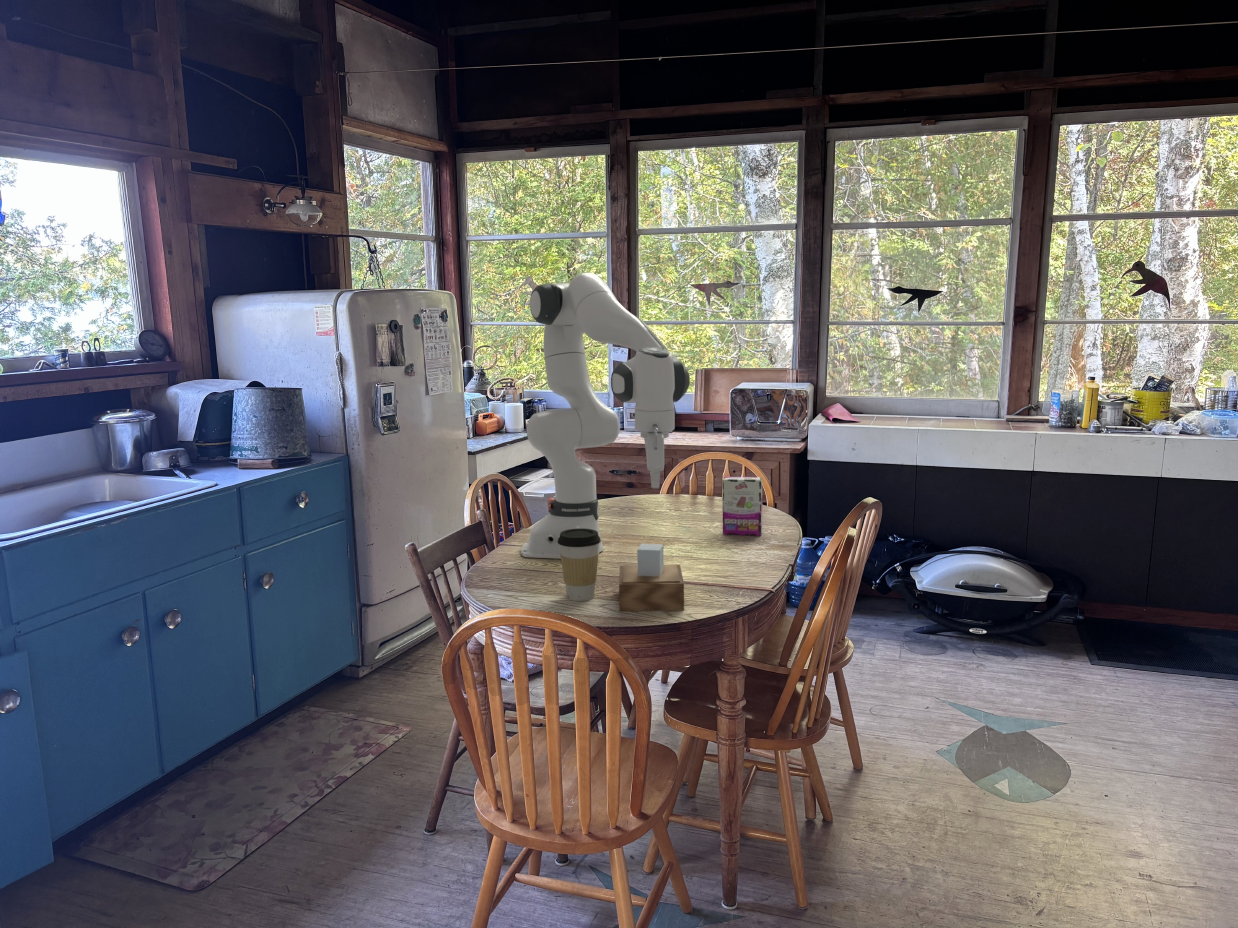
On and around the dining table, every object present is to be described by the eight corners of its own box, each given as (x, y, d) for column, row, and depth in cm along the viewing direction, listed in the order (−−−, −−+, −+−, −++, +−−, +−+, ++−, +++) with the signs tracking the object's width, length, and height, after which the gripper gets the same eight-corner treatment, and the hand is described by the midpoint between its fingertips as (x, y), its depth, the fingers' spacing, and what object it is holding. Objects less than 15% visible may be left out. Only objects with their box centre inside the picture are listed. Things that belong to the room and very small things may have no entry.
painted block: (637, 575, 191) (637, 549, 190) (641, 569, 195) (641, 543, 194) (659, 576, 190) (659, 550, 189) (663, 570, 194) (663, 544, 193)
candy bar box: (762, 531, 250) (763, 476, 247) (761, 536, 246) (761, 480, 243) (724, 530, 253) (724, 475, 250) (722, 534, 248) (722, 479, 245)
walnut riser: (619, 610, 187) (619, 583, 186) (620, 590, 201) (619, 564, 199) (684, 609, 187) (683, 582, 185) (680, 589, 200) (680, 563, 199)
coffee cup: (601, 589, 202) (600, 527, 199) (602, 603, 192) (600, 538, 189) (559, 590, 201) (557, 528, 199) (558, 604, 192) (556, 539, 189)
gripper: (670, 428, 180) (670, 493, 183) (667, 415, 200) (667, 473, 203) (640, 429, 180) (641, 493, 183) (640, 415, 200) (640, 473, 203)
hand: (654, 482), depth 193 cm, fingers open, 8 cm apart
